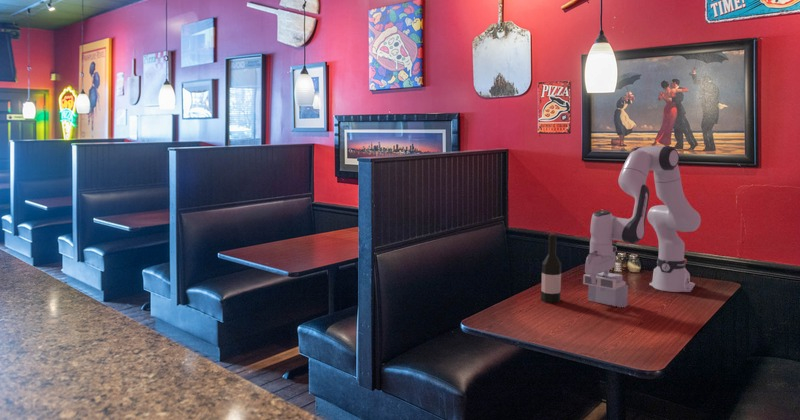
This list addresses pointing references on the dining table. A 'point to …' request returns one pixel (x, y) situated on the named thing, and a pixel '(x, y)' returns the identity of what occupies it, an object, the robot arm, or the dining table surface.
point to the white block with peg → (609, 292)
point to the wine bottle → (551, 274)
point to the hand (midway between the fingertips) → (599, 281)
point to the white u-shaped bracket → (603, 282)
